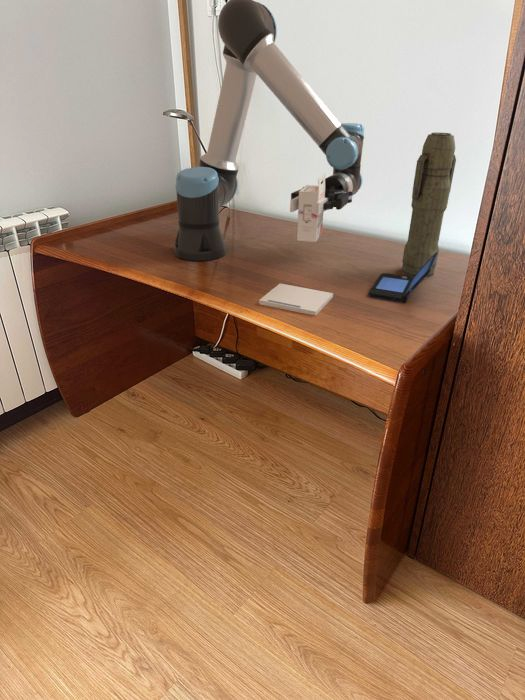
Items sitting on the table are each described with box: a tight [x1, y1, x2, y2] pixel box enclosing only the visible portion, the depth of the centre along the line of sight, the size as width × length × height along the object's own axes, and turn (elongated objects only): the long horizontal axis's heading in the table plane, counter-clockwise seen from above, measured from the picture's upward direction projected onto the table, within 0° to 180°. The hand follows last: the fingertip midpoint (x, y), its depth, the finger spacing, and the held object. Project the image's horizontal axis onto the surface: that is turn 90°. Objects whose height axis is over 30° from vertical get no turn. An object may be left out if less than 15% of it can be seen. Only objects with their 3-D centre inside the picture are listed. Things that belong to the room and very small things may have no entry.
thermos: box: [401, 132, 457, 278], centre depth 130 cm, size 9×12×35 cm
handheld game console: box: [368, 252, 439, 304], centre depth 124 cm, size 16×13×9 cm
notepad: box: [258, 283, 334, 316], centre depth 119 cm, size 14×12×1 cm
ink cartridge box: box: [296, 173, 326, 243], centre depth 121 cm, size 9×5×15 cm, turn 164°
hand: (304, 207), depth 117 cm, fingers closed on ink cartridge box, 6 cm apart
